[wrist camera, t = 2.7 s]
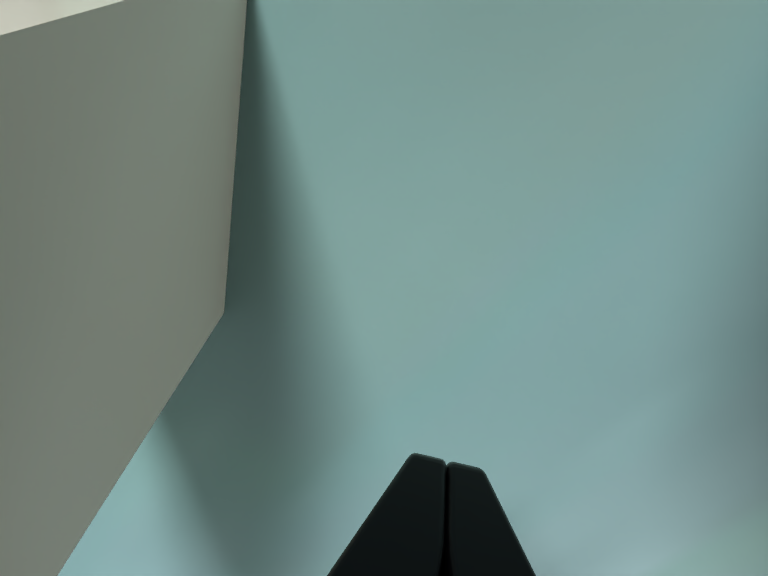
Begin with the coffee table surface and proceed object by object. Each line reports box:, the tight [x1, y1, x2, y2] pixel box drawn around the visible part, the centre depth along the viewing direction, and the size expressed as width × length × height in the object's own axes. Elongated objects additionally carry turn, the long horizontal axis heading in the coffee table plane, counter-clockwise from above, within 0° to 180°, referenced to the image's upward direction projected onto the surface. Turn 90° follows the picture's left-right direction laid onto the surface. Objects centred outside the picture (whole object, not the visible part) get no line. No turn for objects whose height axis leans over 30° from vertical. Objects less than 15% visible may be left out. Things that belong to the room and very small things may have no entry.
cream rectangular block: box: [0, 0, 247, 576], centre depth 11 cm, size 3×8×9 cm, turn 169°
